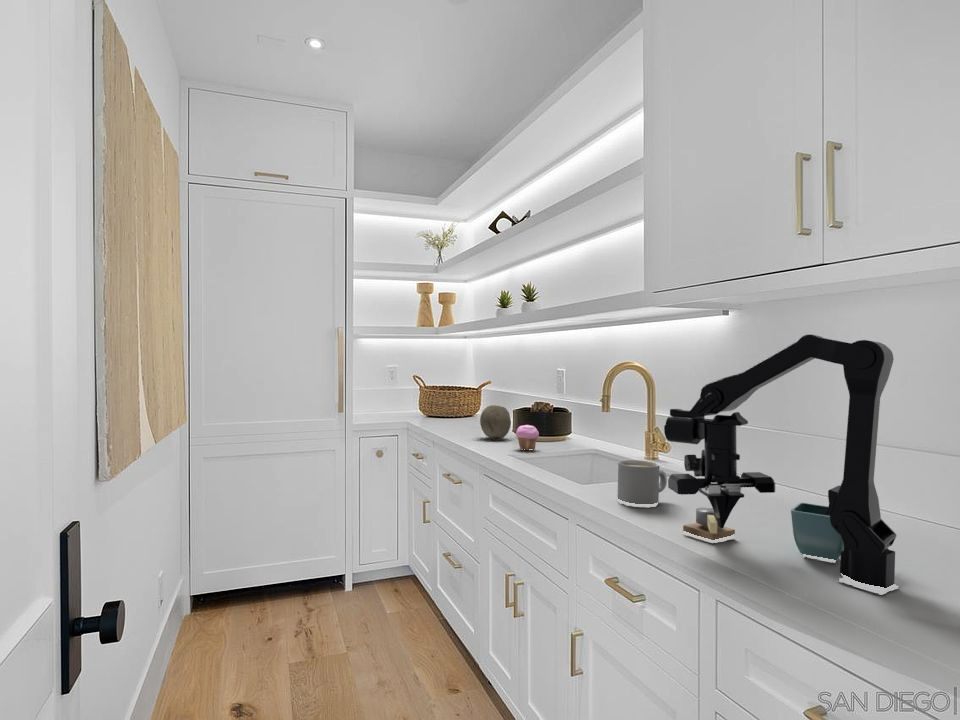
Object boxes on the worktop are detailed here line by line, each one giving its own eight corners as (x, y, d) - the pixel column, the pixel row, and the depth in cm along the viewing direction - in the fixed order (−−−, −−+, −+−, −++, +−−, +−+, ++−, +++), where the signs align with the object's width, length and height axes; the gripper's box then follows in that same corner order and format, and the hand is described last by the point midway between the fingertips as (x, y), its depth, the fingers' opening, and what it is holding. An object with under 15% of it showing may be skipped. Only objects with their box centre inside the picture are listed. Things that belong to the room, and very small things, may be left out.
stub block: (734, 539, 116) (734, 526, 116) (712, 544, 112) (713, 531, 112) (704, 530, 122) (705, 518, 122) (683, 534, 118) (683, 522, 118)
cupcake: (527, 452, 218) (527, 426, 218) (510, 449, 224) (511, 424, 224) (542, 450, 224) (543, 425, 224) (526, 447, 230) (527, 422, 230)
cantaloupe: (517, 440, 250) (518, 406, 250) (489, 442, 243) (490, 407, 243) (500, 436, 262) (501, 403, 262) (473, 437, 255) (474, 404, 255)
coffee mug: (627, 508, 138) (629, 467, 138) (610, 498, 148) (611, 460, 148) (678, 507, 140) (679, 466, 140) (658, 497, 150) (659, 459, 150)
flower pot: (798, 547, 112) (799, 501, 112) (852, 558, 106) (853, 509, 106) (788, 558, 105) (790, 509, 105) (845, 570, 100) (846, 519, 100)
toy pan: (727, 536, 108) (728, 523, 108) (699, 533, 109) (699, 520, 109) (720, 521, 118) (720, 508, 118) (694, 518, 120) (695, 506, 120)
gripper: (747, 439, 119) (748, 514, 119) (658, 441, 118) (659, 516, 119) (776, 448, 108) (777, 531, 108) (678, 450, 107) (679, 533, 107)
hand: (721, 527), depth 111 cm, fingers closed
